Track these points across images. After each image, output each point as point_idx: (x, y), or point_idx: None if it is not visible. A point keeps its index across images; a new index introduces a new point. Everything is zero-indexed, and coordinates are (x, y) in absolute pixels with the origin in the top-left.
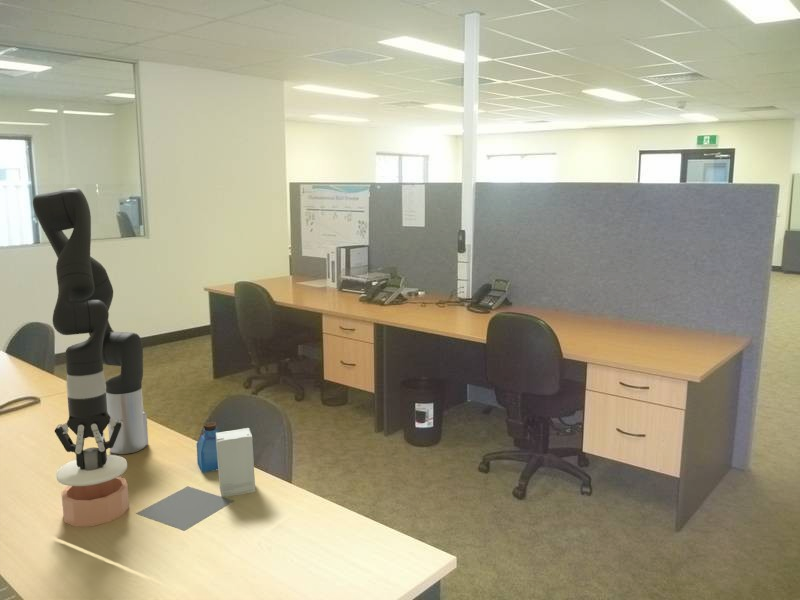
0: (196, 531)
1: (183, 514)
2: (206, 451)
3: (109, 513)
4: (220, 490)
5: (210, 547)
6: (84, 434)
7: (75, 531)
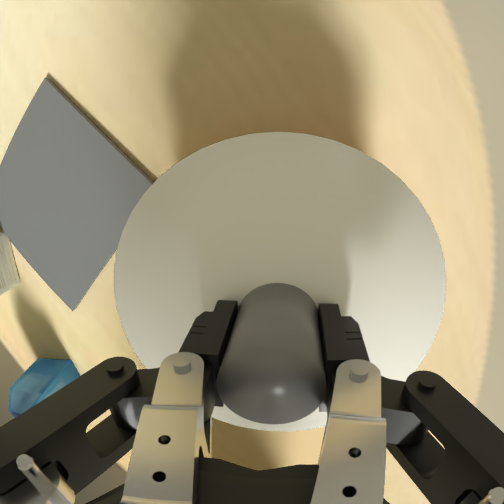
0: (31, 87)
1: (49, 158)
2: (34, 392)
3: None
4: (1, 248)
5: (17, 29)
6: (302, 499)
7: (327, 138)
